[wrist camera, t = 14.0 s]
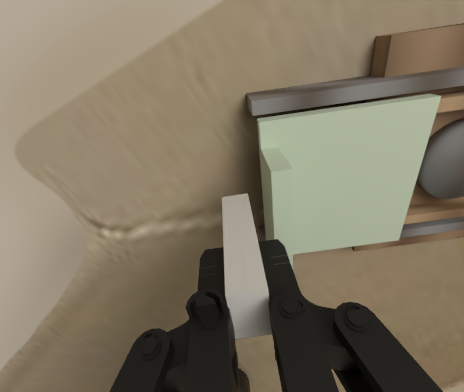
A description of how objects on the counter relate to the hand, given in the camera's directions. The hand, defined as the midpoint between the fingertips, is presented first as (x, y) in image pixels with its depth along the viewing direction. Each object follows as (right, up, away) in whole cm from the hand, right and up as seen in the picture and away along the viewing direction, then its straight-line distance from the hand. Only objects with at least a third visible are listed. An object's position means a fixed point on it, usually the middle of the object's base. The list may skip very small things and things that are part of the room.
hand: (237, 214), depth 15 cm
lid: (+6, +2, +2) cm, 7 cm away
